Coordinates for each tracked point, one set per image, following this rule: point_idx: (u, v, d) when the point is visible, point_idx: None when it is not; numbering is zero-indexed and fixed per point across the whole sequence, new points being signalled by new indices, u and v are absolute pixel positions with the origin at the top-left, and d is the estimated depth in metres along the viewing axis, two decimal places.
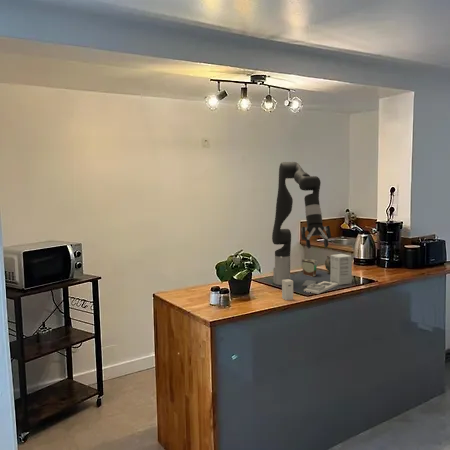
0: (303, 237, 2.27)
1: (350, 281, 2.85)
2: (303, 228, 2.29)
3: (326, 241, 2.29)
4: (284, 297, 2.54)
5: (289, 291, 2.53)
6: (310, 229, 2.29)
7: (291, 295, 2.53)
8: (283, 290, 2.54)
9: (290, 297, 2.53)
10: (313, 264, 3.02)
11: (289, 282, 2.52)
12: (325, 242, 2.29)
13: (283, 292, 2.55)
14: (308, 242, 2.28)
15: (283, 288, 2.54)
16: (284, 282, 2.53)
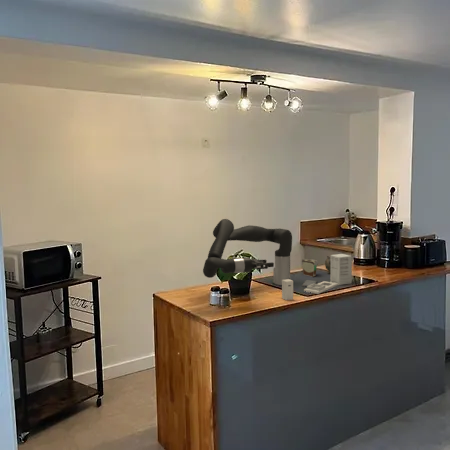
0: None
1: (350, 281, 2.85)
2: None
3: None
4: (284, 297, 2.54)
5: (289, 291, 2.53)
6: None
7: (291, 295, 2.53)
8: (283, 290, 2.54)
9: (290, 297, 2.53)
10: (313, 264, 3.02)
11: (289, 282, 2.52)
12: None
13: (283, 292, 2.55)
14: (261, 263, 2.52)
15: (283, 288, 2.54)
16: (284, 282, 2.53)
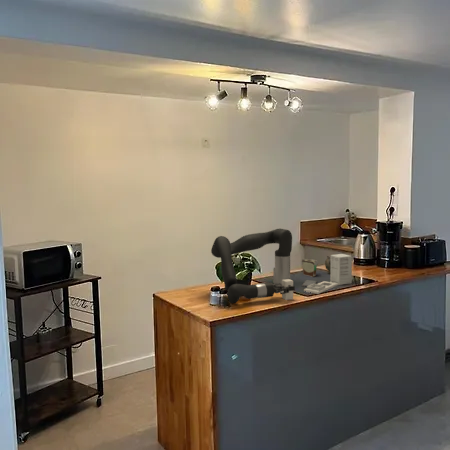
0: None
1: (350, 281, 2.85)
2: None
3: (290, 290, 2.52)
4: (284, 297, 2.54)
5: (289, 291, 2.53)
6: None
7: (291, 295, 2.53)
8: None
9: (290, 297, 2.53)
10: (313, 264, 3.02)
11: (289, 282, 2.52)
12: None
13: None
14: None
15: None
16: (284, 282, 2.53)
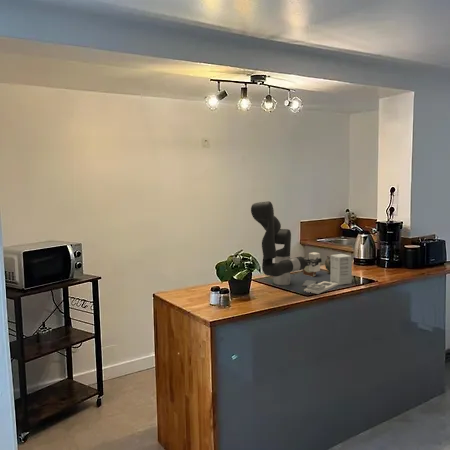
0: None
1: (350, 281, 2.85)
2: None
3: None
4: (312, 269, 2.67)
5: None
6: None
7: (318, 267, 2.67)
8: None
9: (318, 269, 2.67)
10: None
11: (317, 255, 2.65)
12: None
13: None
14: None
15: None
16: (312, 255, 2.65)
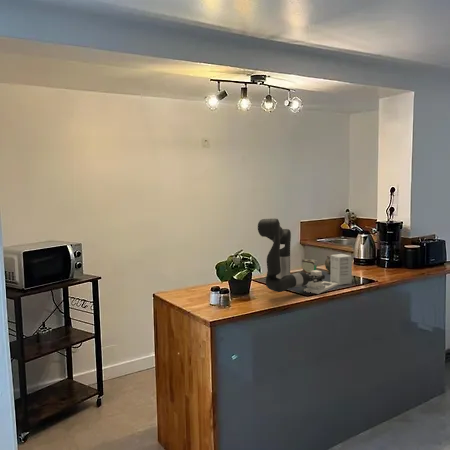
0: None
1: (350, 281, 2.85)
2: None
3: None
4: None
5: None
6: None
7: (320, 285, 2.70)
8: None
9: None
10: (313, 264, 3.02)
11: (319, 272, 2.68)
12: None
13: (312, 282, 2.70)
14: None
15: None
16: (314, 273, 2.68)
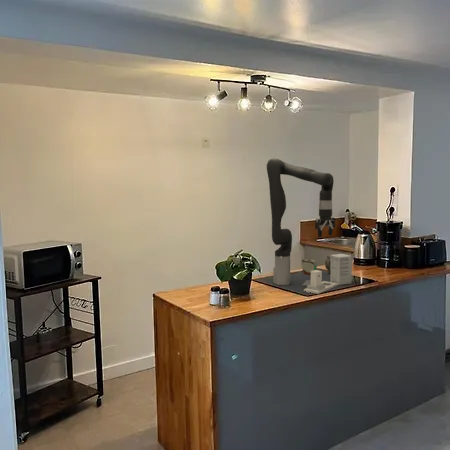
0: (318, 228, 2.69)
1: (350, 281, 2.85)
2: (319, 220, 2.69)
3: (331, 231, 2.76)
4: None
5: (318, 281, 2.68)
6: (323, 221, 2.71)
7: (320, 285, 2.70)
8: (312, 280, 2.69)
9: None
10: (313, 264, 3.02)
11: (319, 272, 2.68)
12: (331, 231, 2.76)
13: (312, 282, 2.70)
14: (320, 232, 2.71)
15: (312, 279, 2.69)
16: (314, 273, 2.68)
